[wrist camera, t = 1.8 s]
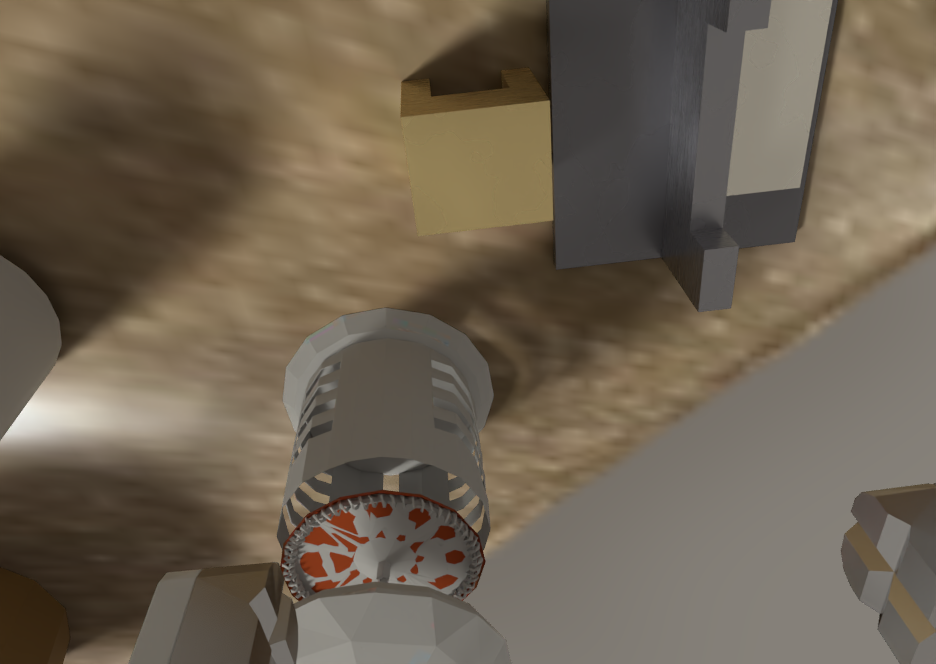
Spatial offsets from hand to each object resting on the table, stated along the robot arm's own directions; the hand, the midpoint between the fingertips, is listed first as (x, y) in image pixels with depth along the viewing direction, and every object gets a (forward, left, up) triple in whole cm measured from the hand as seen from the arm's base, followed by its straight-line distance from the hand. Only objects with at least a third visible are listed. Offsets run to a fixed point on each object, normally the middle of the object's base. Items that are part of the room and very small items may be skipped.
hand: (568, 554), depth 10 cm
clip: (0, 0, -20) cm, 20 cm away
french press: (+13, -5, -20) cm, 24 cm away
